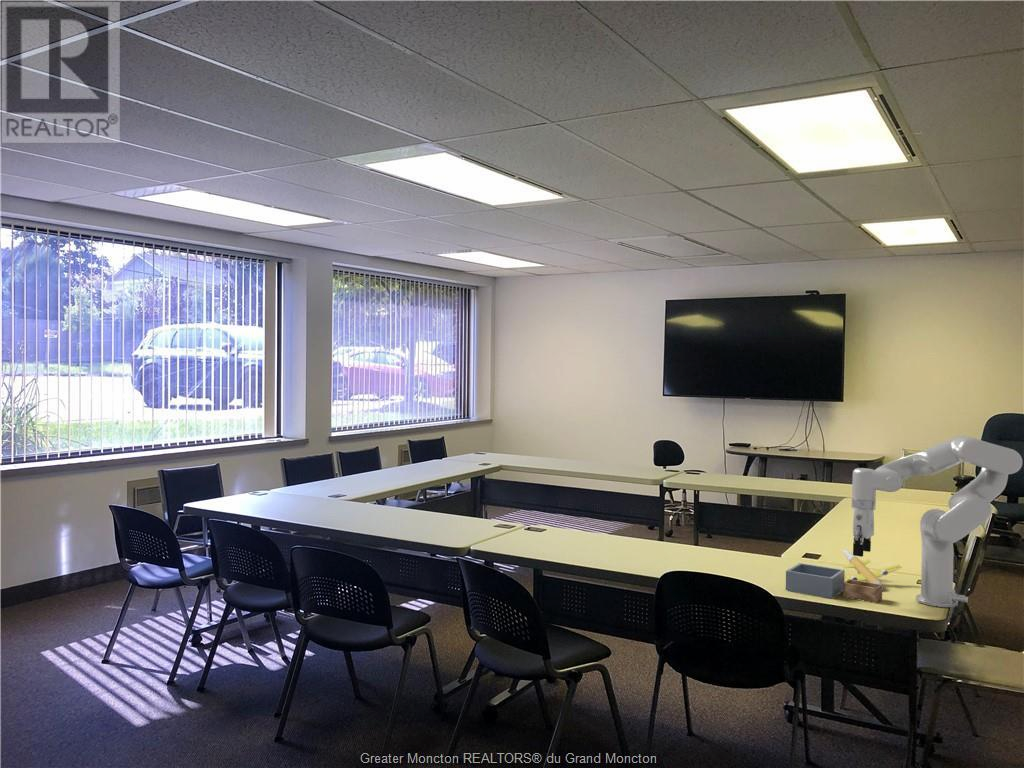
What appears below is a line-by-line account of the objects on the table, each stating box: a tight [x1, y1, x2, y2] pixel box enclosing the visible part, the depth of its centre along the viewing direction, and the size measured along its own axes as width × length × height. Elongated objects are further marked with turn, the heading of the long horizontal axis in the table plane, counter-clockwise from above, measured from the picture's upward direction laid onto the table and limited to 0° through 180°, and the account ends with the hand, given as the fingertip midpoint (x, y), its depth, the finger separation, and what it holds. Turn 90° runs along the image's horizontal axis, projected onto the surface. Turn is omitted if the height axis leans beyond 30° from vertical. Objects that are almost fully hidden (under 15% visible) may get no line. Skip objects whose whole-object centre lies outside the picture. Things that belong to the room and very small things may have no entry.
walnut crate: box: [842, 579, 883, 604], centre depth 269 cm, size 11×6×5 cm, turn 52°
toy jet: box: [842, 549, 903, 591], centre depth 292 cm, size 26×7×30 cm
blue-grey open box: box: [785, 562, 846, 599], centre depth 279 cm, size 16×15×7 cm
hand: (861, 553), depth 269 cm, fingers open, 9 cm apart
